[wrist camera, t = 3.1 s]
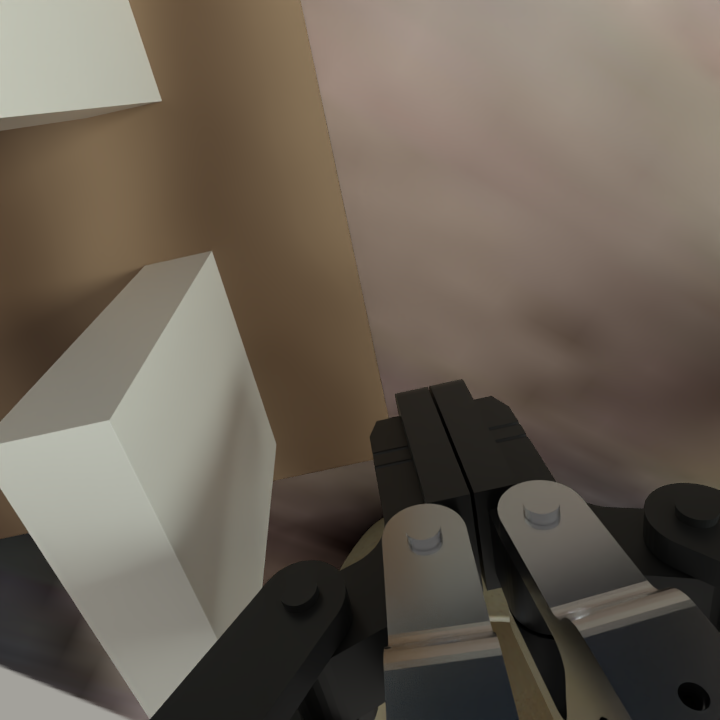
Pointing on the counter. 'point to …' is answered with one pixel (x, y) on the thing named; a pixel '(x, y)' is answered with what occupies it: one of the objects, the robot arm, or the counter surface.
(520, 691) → the flower pot
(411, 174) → the counter surface
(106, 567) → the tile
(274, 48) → the board
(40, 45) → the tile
